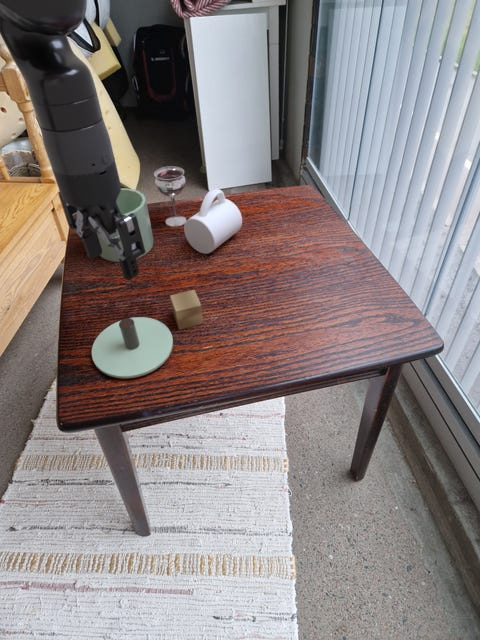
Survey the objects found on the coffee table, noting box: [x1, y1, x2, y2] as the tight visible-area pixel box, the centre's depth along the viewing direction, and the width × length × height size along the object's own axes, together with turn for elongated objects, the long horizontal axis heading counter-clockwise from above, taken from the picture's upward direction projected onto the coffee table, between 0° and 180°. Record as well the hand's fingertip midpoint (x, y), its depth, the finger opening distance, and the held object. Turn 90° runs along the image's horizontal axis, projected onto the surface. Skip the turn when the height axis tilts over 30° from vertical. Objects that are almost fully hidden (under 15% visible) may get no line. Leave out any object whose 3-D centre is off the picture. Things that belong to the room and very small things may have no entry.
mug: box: [183, 188, 243, 255], centre depth 90 cm, size 8×10×12 cm
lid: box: [91, 316, 174, 379], centre depth 69 cm, size 13×13×6 cm
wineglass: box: [153, 165, 187, 227], centre depth 97 cm, size 7×7×12 cm
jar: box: [97, 187, 154, 263], centre depth 90 cm, size 12×12×10 cm
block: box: [169, 289, 204, 331], centre depth 75 cm, size 4×4×4 cm
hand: (113, 265), depth 63 cm, fingers open, 8 cm apart
